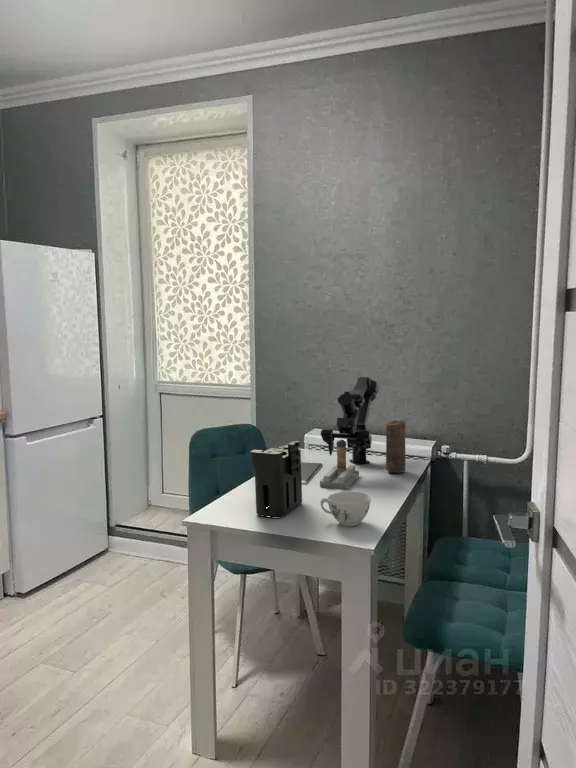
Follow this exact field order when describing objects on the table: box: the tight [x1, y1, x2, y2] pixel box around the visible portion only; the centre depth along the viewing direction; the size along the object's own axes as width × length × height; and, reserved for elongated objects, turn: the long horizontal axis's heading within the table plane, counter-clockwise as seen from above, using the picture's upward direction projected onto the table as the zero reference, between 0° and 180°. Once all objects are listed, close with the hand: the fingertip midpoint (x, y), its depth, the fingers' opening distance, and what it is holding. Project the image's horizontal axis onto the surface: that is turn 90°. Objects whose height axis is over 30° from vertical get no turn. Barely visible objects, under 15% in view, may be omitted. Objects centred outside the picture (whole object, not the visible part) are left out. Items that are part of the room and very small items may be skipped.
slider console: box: [319, 464, 360, 490], centre depth 212 cm, size 17×10×4 cm, turn 159°
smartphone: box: [301, 461, 323, 485], centre depth 225 cm, size 13×27×2 cm, turn 164°
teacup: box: [320, 490, 372, 527], centre depth 170 cm, size 15×12×8 cm
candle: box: [385, 419, 406, 474], centre depth 221 cm, size 8×7×20 cm
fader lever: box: [335, 439, 347, 475], centre depth 214 cm, size 4×4×13 cm
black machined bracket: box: [250, 440, 303, 518], centre depth 183 cm, size 12×21×22 cm, turn 154°
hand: (342, 455), depth 215 cm, fingers open, 9 cm apart
